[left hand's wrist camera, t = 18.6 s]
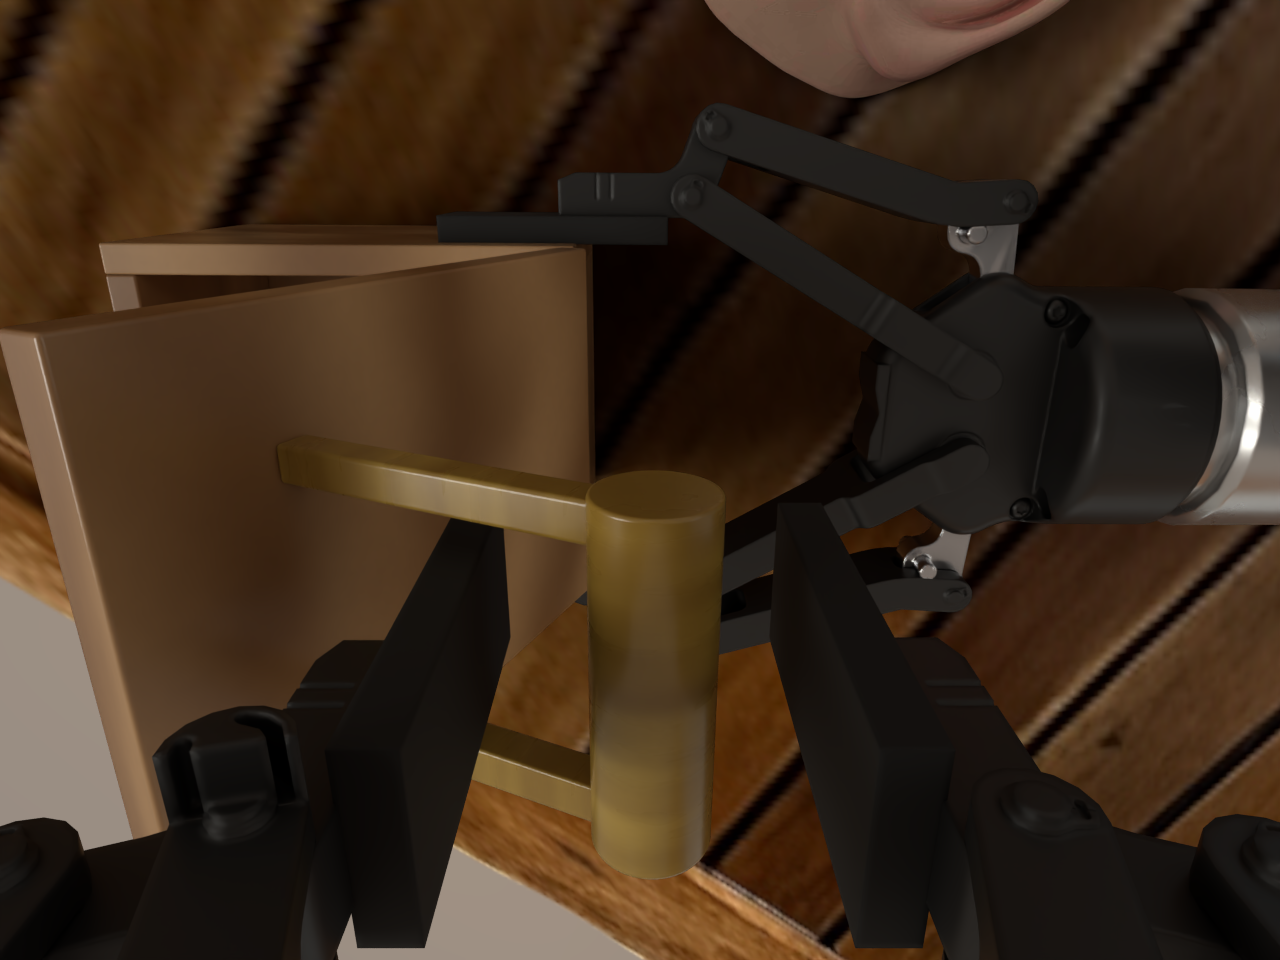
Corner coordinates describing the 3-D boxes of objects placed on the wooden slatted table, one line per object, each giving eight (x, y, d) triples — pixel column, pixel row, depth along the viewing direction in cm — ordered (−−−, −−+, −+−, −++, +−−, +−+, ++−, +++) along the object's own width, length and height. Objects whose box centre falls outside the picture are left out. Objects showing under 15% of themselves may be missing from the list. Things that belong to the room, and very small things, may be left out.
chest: (286, 475, 34) (169, 574, 26) (247, 224, 31) (97, 242, 22) (595, 477, 34) (581, 577, 26) (592, 226, 31) (574, 246, 22)
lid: (156, 933, 14) (606, 1177, 10) (-8, 327, 10) (595, 407, 7) (568, 581, 26) (837, 643, 22) (559, 246, 22) (877, 261, 19)
